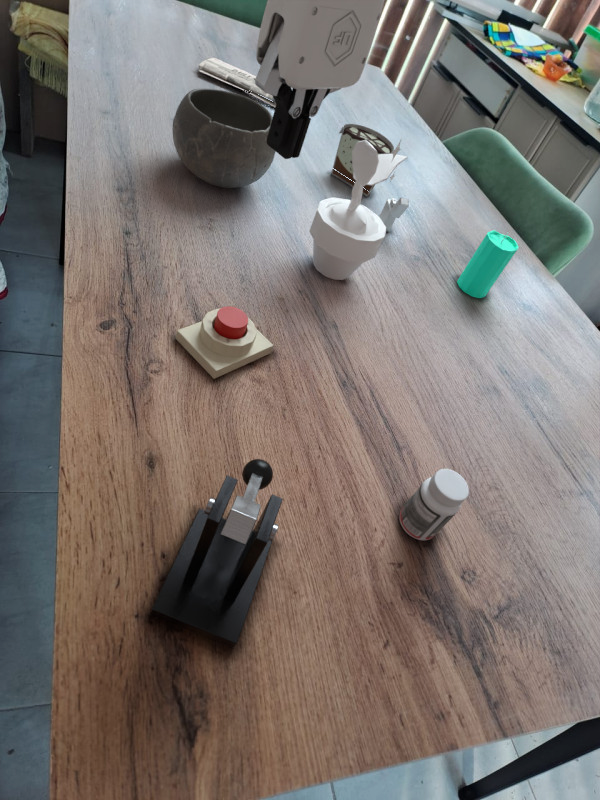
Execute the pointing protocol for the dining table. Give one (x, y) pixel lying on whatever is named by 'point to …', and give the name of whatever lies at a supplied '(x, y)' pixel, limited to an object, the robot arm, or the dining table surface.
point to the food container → (347, 144)
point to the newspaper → (234, 77)
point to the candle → (487, 264)
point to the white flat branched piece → (393, 211)
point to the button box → (222, 346)
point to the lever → (247, 501)
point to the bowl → (223, 137)
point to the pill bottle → (433, 504)
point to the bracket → (216, 572)
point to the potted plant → (352, 217)
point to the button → (230, 322)
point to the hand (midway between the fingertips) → (282, 150)
